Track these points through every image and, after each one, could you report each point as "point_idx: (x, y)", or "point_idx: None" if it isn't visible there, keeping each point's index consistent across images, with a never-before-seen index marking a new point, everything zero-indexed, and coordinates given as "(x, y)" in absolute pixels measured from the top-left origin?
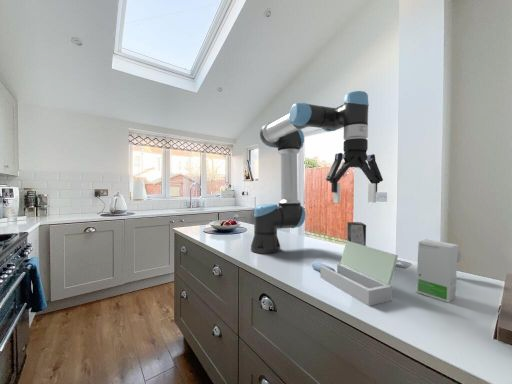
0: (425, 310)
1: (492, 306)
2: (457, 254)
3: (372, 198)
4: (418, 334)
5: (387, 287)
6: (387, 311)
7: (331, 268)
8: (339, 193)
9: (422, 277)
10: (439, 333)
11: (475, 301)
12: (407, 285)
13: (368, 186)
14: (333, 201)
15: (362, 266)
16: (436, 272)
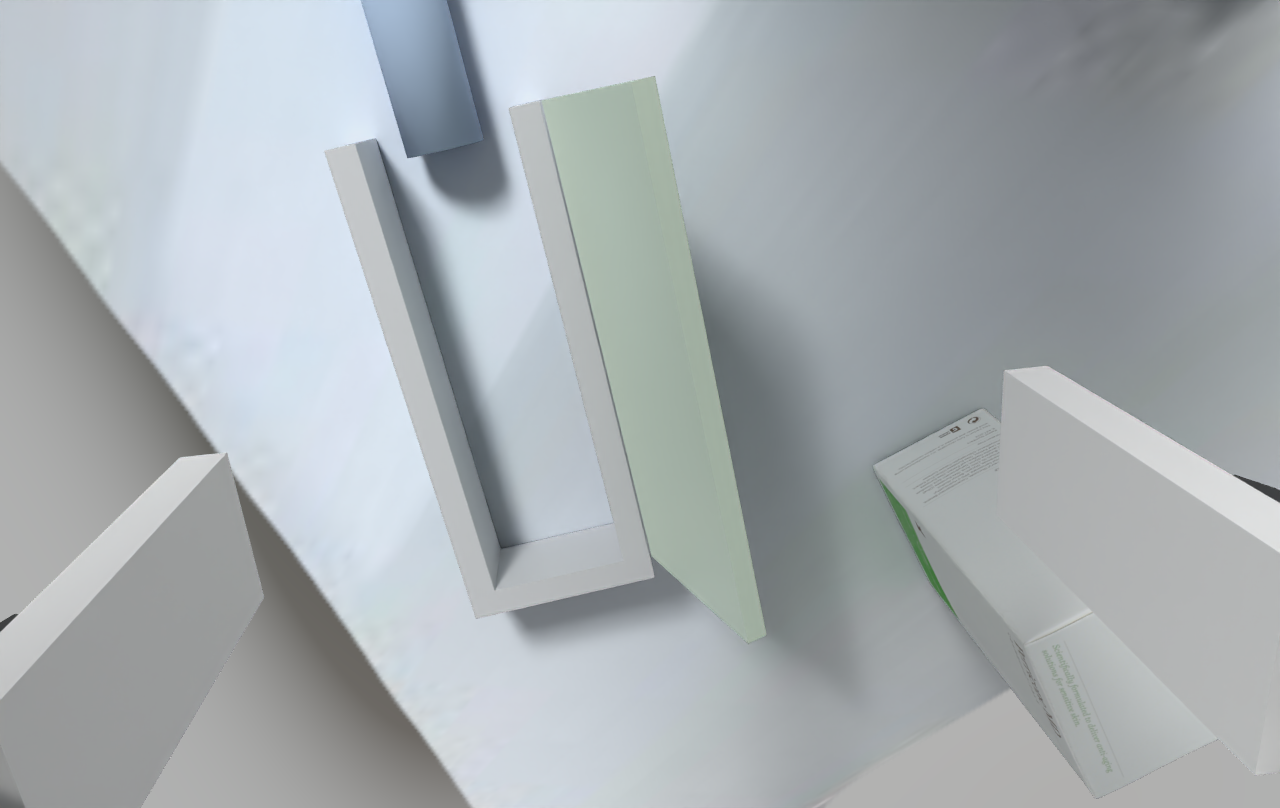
0: None
1: None
2: None
3: (1035, 518)
4: (553, 779)
5: (620, 584)
6: (547, 628)
7: (439, 143)
8: (179, 717)
9: (920, 534)
10: (641, 779)
11: None
12: (912, 361)
13: (1221, 521)
14: (172, 470)
15: (617, 354)
16: (969, 621)
